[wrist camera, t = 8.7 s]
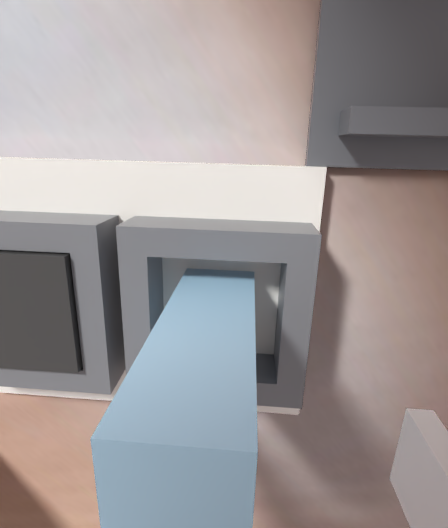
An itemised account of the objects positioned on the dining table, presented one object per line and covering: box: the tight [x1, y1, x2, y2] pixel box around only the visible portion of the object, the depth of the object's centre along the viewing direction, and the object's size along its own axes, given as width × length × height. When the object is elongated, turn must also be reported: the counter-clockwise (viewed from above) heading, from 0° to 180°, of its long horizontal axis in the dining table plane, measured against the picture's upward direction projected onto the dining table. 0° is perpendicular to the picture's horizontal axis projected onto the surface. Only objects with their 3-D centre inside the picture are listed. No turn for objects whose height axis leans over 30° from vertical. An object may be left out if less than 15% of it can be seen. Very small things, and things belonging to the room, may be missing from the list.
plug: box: [91, 268, 258, 528], centre depth 15 cm, size 4×4×13 cm
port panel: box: [0, 157, 327, 415], centre depth 20 cm, size 16×22×4 cm
